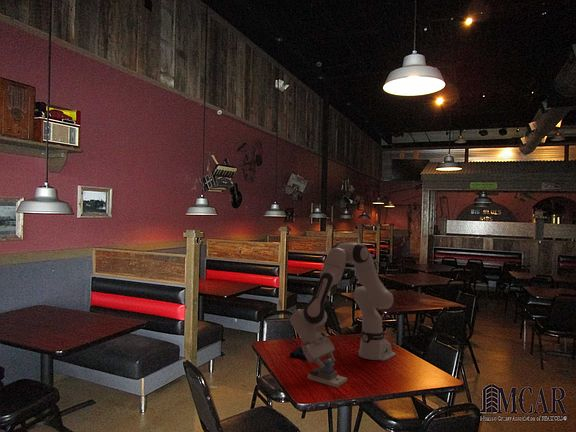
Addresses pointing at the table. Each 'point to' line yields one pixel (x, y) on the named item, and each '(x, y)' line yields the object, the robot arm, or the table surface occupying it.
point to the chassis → (326, 377)
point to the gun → (298, 353)
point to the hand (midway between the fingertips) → (328, 364)
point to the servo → (328, 366)
